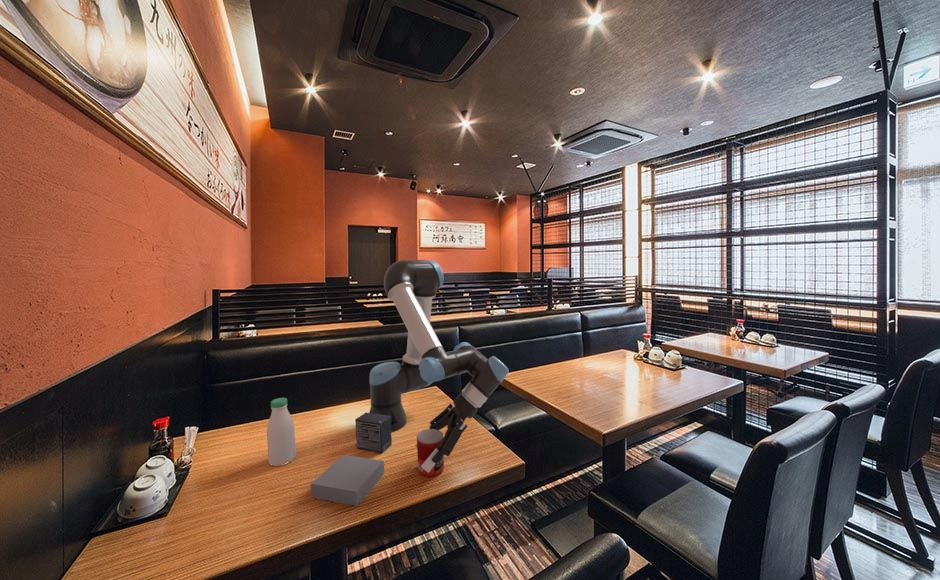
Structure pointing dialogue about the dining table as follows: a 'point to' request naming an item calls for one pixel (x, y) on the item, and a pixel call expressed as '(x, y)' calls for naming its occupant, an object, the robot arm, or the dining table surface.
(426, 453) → the canned food
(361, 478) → the slate stand
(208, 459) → the dining table surface
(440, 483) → the dining table surface
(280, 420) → the milk bottle
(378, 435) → the small box
